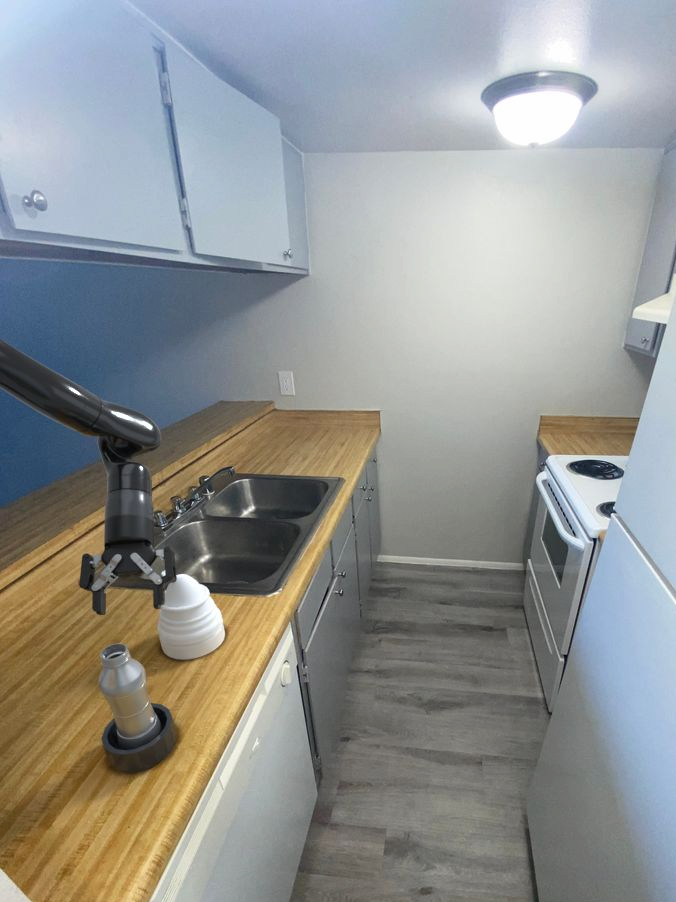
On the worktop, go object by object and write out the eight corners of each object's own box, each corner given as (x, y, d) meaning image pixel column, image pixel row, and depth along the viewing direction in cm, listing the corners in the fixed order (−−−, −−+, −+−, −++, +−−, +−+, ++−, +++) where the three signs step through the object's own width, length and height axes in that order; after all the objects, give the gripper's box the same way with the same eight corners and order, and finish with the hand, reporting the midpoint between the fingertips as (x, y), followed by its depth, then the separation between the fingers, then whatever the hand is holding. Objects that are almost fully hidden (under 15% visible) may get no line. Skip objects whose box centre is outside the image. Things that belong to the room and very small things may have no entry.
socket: (101, 779, 74) (93, 760, 72) (117, 727, 83) (111, 709, 81) (171, 765, 77) (166, 746, 74) (180, 716, 85) (176, 698, 83)
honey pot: (167, 667, 96) (148, 594, 87) (157, 632, 105) (139, 563, 97) (232, 646, 102) (219, 576, 94) (216, 615, 112) (204, 548, 103)
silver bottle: (125, 767, 75) (91, 673, 66) (118, 737, 80) (86, 646, 71) (168, 747, 79) (142, 656, 70) (159, 720, 84) (133, 631, 74)
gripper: (74, 516, 78) (71, 613, 74) (168, 510, 81) (170, 602, 77) (93, 530, 85) (90, 620, 80) (178, 524, 88) (180, 609, 84)
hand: (129, 611), depth 79 cm, fingers open, 8 cm apart
